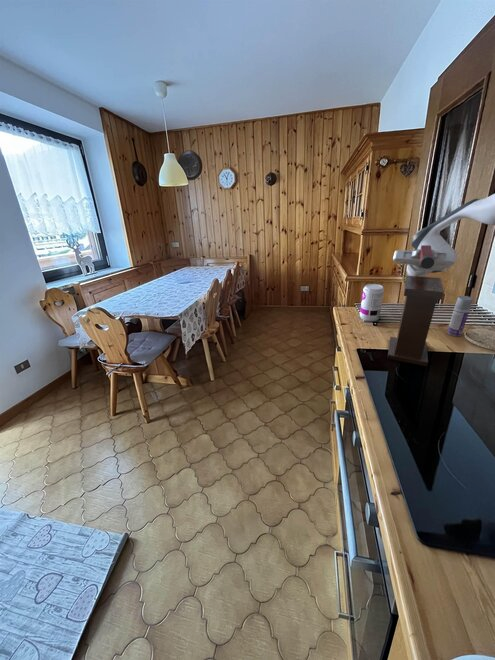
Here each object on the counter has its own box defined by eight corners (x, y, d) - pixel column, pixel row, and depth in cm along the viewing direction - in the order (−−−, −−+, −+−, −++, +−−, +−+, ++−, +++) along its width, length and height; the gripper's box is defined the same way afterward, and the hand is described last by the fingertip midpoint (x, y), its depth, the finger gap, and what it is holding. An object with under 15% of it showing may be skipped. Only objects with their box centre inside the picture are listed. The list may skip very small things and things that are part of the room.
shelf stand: (389, 340, 110) (402, 275, 98) (425, 346, 104) (444, 278, 92) (387, 358, 99) (401, 288, 87) (426, 366, 94) (448, 292, 81)
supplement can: (358, 320, 126) (362, 288, 119) (361, 313, 132) (365, 282, 125) (377, 323, 122) (383, 290, 116) (379, 315, 129) (385, 284, 122)
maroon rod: (418, 253, 107) (420, 243, 105) (429, 253, 105) (432, 243, 103) (419, 268, 90) (422, 256, 88) (432, 269, 88) (435, 257, 86)
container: (457, 330, 113) (468, 295, 106) (463, 336, 109) (476, 300, 102) (444, 330, 113) (455, 295, 106) (450, 336, 109) (462, 300, 102)
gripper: (393, 253, 117) (395, 242, 105) (452, 255, 108) (461, 243, 96) (390, 268, 117) (392, 258, 105) (449, 272, 109) (458, 262, 96)
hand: (425, 251), depth 100 cm, fingers closed on maroon rod, 3 cm apart
